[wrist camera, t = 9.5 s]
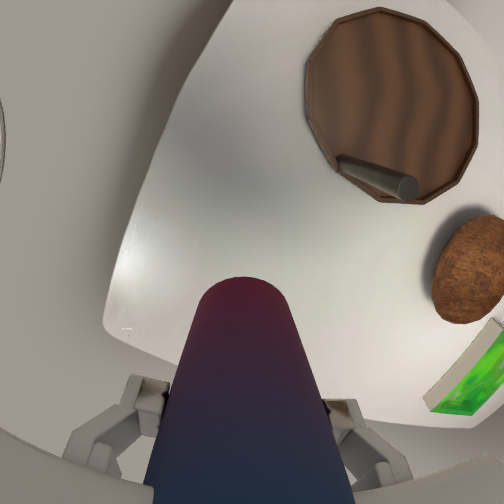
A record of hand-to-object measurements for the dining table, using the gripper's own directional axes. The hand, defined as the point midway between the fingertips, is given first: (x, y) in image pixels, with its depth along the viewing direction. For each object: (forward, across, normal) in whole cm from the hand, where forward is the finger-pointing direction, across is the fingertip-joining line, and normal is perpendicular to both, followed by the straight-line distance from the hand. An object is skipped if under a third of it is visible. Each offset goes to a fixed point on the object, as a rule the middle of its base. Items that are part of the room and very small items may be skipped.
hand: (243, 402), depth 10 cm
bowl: (+30, -40, +1) cm, 49 cm away
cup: (+6, 0, 0) cm, 6 cm away
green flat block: (+30, -66, +27) cm, 77 cm away
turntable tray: (+28, -17, -19) cm, 37 cm away
